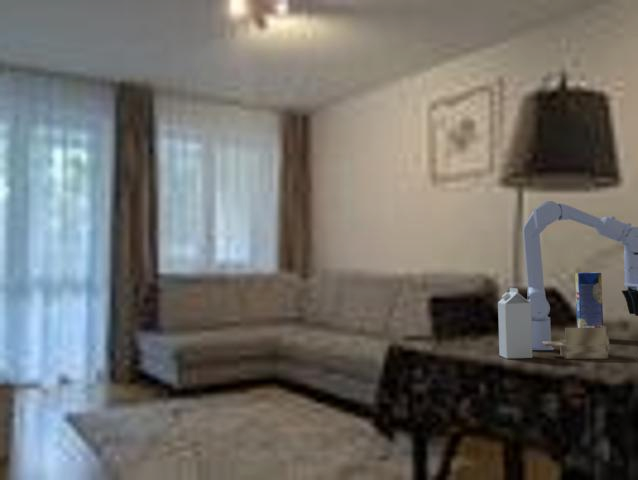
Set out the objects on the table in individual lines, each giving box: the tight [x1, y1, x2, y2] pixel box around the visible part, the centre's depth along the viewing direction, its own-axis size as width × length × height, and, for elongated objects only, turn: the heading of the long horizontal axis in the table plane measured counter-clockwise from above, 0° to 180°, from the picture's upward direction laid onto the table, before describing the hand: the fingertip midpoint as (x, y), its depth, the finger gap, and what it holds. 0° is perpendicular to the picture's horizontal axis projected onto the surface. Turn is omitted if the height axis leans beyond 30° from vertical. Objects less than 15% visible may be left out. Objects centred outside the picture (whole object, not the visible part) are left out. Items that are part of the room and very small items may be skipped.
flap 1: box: [564, 327, 607, 345], centre depth 189 cm, size 10×4×1 cm
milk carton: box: [497, 287, 533, 359], centre depth 196 cm, size 7×7×19 cm
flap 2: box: [600, 324, 610, 346], centre depth 192 cm, size 4×7×1 cm
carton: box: [542, 338, 609, 360], centre depth 196 cm, size 16×13×4 cm
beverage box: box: [574, 271, 604, 328], centre depth 233 cm, size 7×11×22 cm, turn 166°
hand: (636, 314), depth 207 cm, fingers open, 7 cm apart
